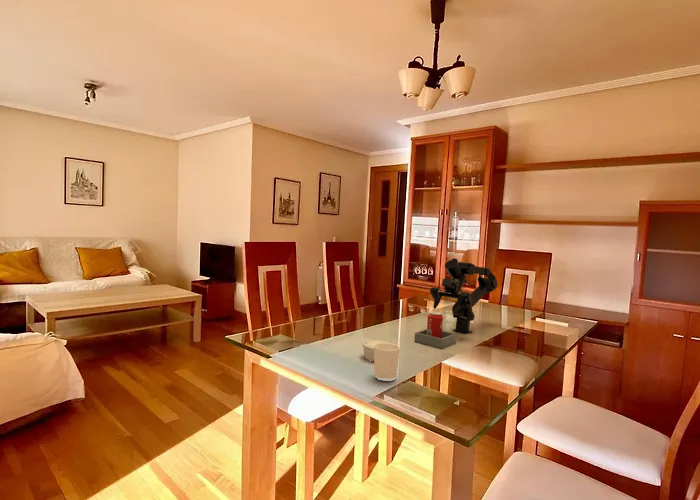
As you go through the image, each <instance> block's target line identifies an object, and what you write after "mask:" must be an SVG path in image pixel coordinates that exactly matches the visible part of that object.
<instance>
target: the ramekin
mask: <svg viewBox="0 0 700 500" xmlns="http://www.w3.org/2000/svg"><path fill="white" fill-rule="evenodd" d="M378 343H390V344H393V343H391V342H390V341H386V340H378V339H375V340H374V339H373V340H367V341H364V342H363V343H362V347H363V355H364V358H365V360H367V359H368V360H371V361H374V346H375V345H376V344H378ZM368 360H367V361H368ZM371 361H370V362H371Z"/></svg>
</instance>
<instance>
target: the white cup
mask: <svg viewBox="0 0 700 500" xmlns="http://www.w3.org/2000/svg"><path fill="white" fill-rule="evenodd" d="M390 343H391V342H390ZM390 343H378V344H376V345H375V346H374V362H373V363H374V364H373V366H374V367H373V369H374V372H373V373H374V374H375V376H377V377H380V378H387V379H389V378H390V379H391V378H395V377H396V378H397V372H398V365H399V358H400V350H401V348H400V346H399V345H397V344H394V343H392V344H390Z"/></svg>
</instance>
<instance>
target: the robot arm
mask: <svg viewBox="0 0 700 500" xmlns="http://www.w3.org/2000/svg"><path fill="white" fill-rule="evenodd" d="M444 267H445V270H446V271H447V273H448V275H449V277H451V278H443V279H442V282H441V286H443V290H444V291H443V290H441V288H439V287H435V286H432V287H431V288H429V292H430V295H431V298H432V299H433V310H436V309H437V307H438V306H439V304H440V302H441V299H442V298H443V297H446V298H449V299H456V301H455V302H454V304H453V305H452V307H451V310H452V317H453V318H456V321H455V328H454V329H452V330H453V331H455V332H458V333H461V334H469V333H470V334H471V333H472V332H473V330H470V326H471V322H474V320H475V317H476V316H475V313H474V312H473V307H474V306H475V305H476V304H477V303H478V302H479V301H480V300H482V298H483V297H484V296H485V295H486V294H487V293H492V292H493V291H495V290H496V289H497V288H498V281H497V278H496V276H495V275H494V273H492V272H491V268H489V267H483V266H476V265H475V264H474V263H471V262H463V261H458V258H454V257H453V258H452V259H449V260H448V261H446V262H445V264H444ZM475 274H476V275H478V277H477V283H478V286H477V287H476V288H475V289H474V290H473V291H472V292H471V293H470V292H467V291H463V289H462V288H463V285H464V284H466V283H468V280H467V277H466V276H473V275H475ZM483 276H484V277H483ZM485 276H486V277H485Z"/></svg>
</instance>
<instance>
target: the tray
mask: <svg viewBox="0 0 700 500" xmlns="http://www.w3.org/2000/svg"><path fill="white" fill-rule="evenodd" d="M456 341H457V334H456V333H453V332H449V331H444V330H442V339H441V338H437V337H433V336H429V335H427V328H425V329H423V330H419V331H416V332H414V343H416V344H421V345H424V346H429V347H432V348H435V349H439V350H443V349H446V348H448V347H451V346H452V345H455V344H457V343H456Z"/></svg>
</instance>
